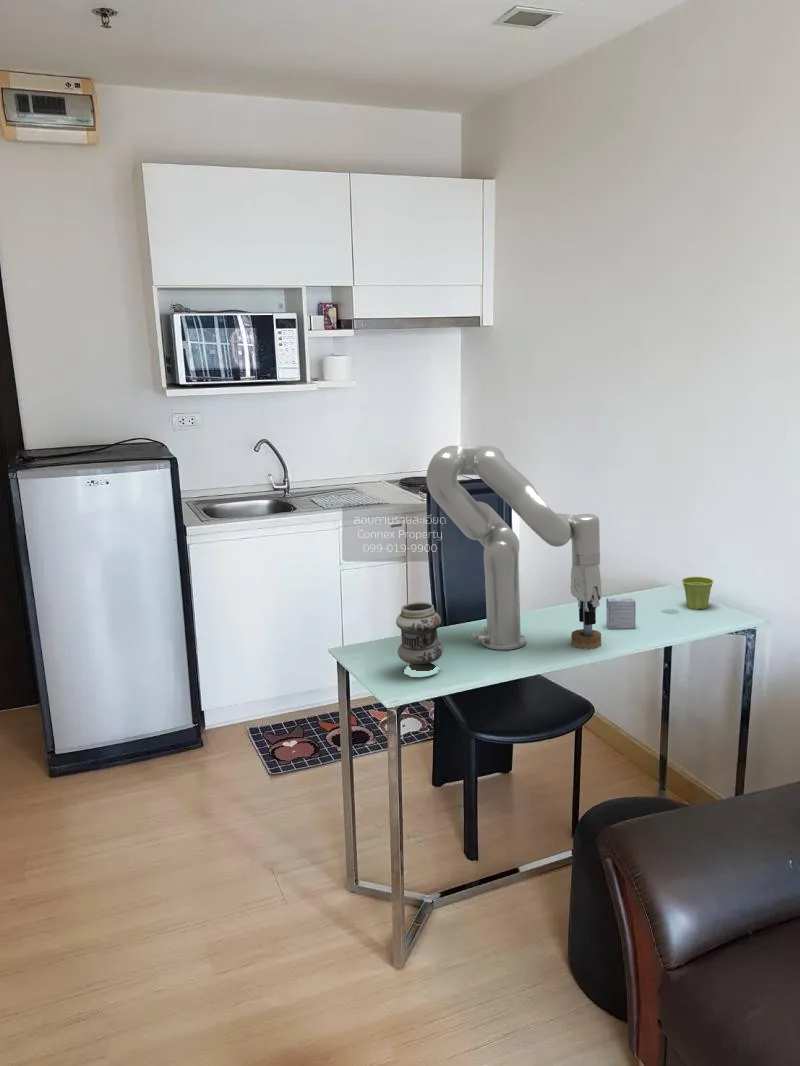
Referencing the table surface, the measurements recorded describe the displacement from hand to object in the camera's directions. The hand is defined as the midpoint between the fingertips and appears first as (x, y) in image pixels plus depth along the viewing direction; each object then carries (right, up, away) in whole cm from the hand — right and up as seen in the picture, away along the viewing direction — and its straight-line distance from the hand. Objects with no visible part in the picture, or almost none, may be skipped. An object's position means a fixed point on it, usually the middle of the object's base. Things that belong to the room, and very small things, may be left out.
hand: (587, 622), depth 227 cm
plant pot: (+41, +1, +29) cm, 50 cm away
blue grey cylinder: (0, -4, +1) cm, 4 cm away
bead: (0, -6, +1) cm, 6 cm away
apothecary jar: (-47, -12, -12) cm, 50 cm away
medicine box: (+13, -3, +14) cm, 20 cm away
